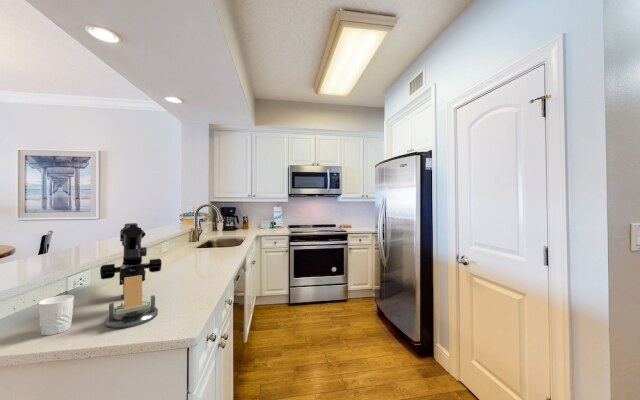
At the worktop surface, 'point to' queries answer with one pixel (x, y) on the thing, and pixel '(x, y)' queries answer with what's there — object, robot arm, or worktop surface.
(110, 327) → the base
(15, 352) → the worktop surface
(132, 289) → the orange and green block
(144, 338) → the worktop surface
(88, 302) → the worktop surface
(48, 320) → the white cup
